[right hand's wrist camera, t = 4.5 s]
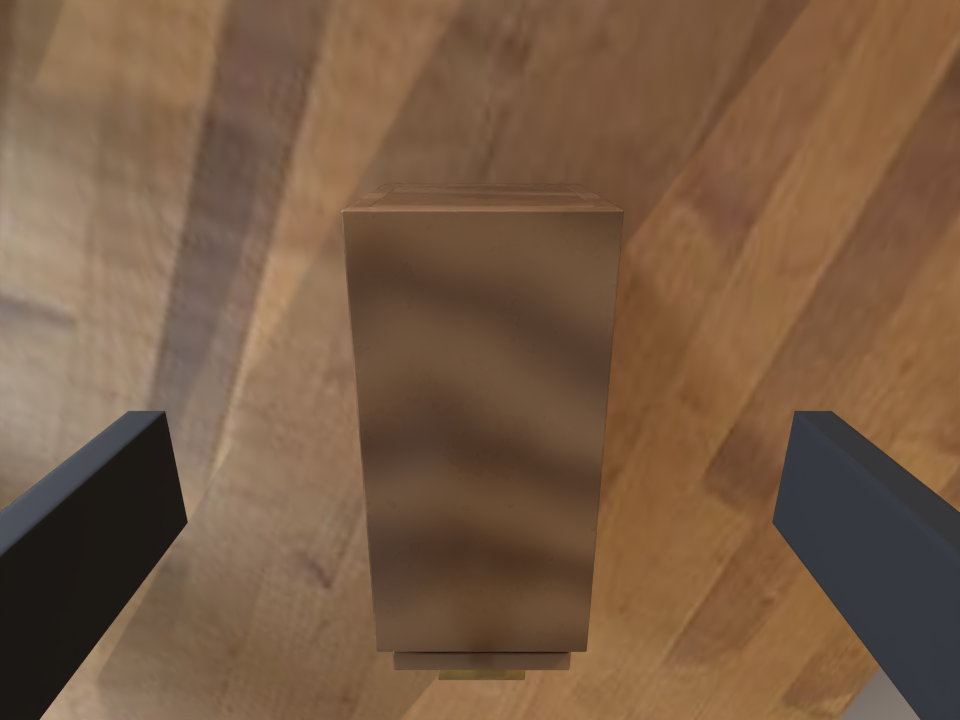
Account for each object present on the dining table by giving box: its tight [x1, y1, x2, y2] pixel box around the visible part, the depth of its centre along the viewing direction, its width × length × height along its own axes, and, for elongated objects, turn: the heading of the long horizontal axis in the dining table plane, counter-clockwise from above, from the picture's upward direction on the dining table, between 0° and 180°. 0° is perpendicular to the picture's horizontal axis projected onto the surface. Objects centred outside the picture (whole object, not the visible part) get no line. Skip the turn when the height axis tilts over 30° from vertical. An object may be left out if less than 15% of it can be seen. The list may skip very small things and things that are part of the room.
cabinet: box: [341, 184, 623, 652], centre depth 31 cm, size 22×10×11 cm, turn 0°
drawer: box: [393, 652, 571, 680], centre depth 33 cm, size 26×9×9 cm, turn 0°
